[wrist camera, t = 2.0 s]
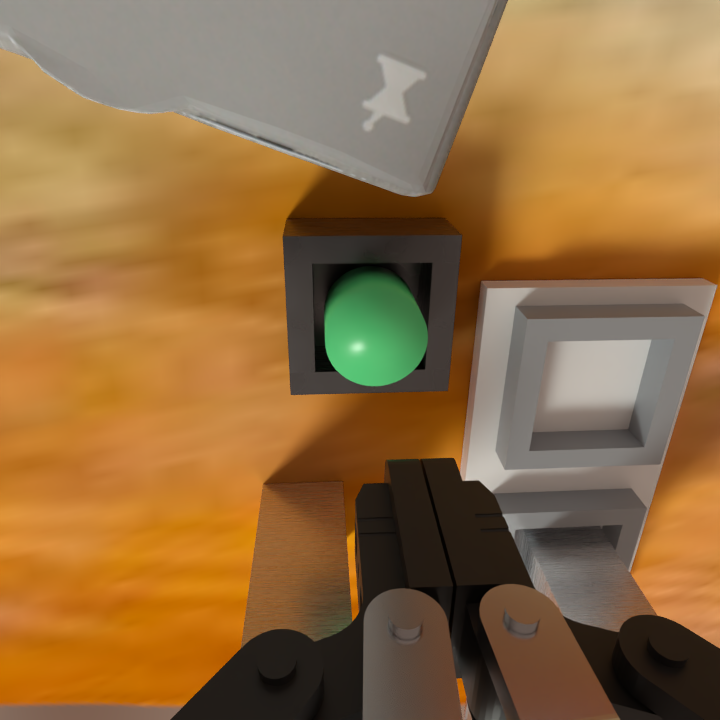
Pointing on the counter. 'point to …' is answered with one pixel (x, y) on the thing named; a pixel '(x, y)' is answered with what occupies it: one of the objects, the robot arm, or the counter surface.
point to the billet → (300, 562)
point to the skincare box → (278, 71)
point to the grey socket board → (580, 397)
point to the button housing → (358, 249)
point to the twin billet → (582, 575)
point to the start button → (373, 327)
